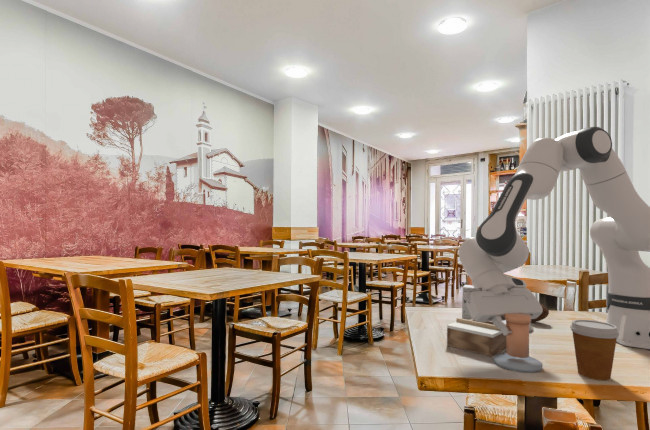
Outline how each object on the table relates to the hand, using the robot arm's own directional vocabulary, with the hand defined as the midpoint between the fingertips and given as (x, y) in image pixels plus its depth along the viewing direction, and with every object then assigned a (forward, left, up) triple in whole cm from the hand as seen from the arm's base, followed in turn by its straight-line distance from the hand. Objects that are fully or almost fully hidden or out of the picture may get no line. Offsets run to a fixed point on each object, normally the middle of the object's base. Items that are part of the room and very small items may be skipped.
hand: (519, 333), depth 96 cm
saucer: (+1, 0, -8) cm, 8 cm away
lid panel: (+14, -5, -3) cm, 15 cm away
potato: (+12, -51, -8) cm, 53 cm away
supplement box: (+28, -36, -8) cm, 46 cm away
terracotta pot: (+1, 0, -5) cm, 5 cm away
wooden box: (+14, -10, -8) cm, 19 cm away
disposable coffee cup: (-14, -6, -8) cm, 18 cm away
